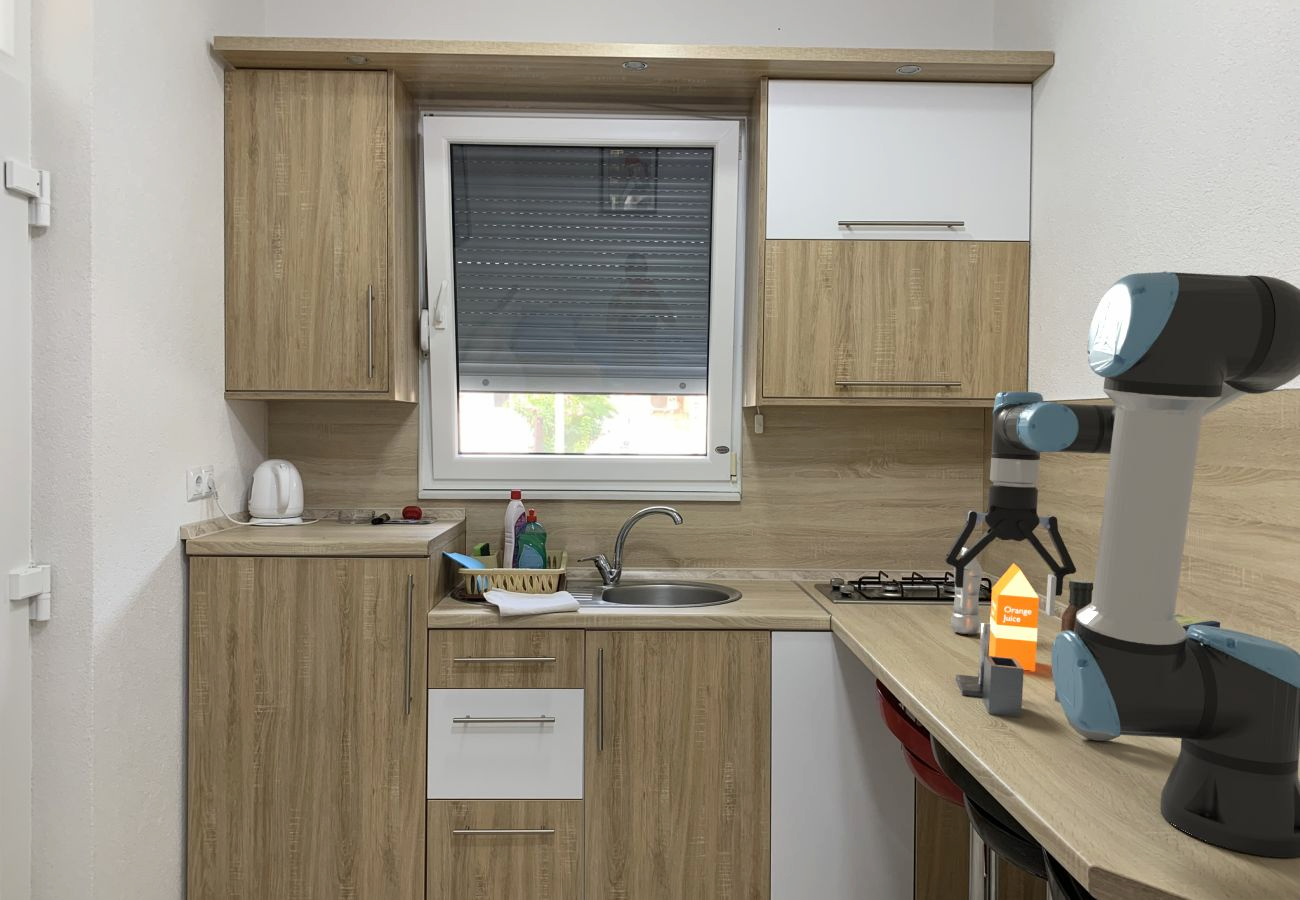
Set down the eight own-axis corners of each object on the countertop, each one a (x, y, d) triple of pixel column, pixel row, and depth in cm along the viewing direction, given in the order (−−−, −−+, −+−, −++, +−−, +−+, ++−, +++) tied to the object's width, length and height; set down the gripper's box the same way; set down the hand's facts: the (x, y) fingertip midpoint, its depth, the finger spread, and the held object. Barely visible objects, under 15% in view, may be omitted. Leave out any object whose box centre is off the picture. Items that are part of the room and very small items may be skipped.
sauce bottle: (1099, 695, 158) (1106, 585, 158) (1062, 691, 159) (1069, 582, 159) (1089, 684, 165) (1095, 579, 164) (1053, 681, 166) (1059, 576, 165)
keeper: (1010, 700, 152) (1014, 631, 152) (962, 695, 154) (966, 627, 154) (1001, 684, 162) (1004, 620, 162) (955, 679, 164) (959, 616, 164)
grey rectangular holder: (1021, 717, 143) (1023, 668, 143) (988, 713, 144) (991, 665, 144) (1013, 704, 150) (1015, 658, 150) (982, 701, 151) (984, 655, 151)
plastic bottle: (950, 635, 201) (955, 548, 200) (949, 629, 207) (953, 545, 207) (980, 638, 199) (985, 550, 199) (978, 632, 206) (983, 547, 205)
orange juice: (993, 667, 174) (999, 567, 174) (987, 656, 183) (992, 561, 182) (1036, 671, 172) (1041, 570, 172) (1027, 660, 181) (1033, 564, 180)
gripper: (1089, 487, 147) (1081, 613, 148) (933, 478, 153) (926, 599, 153) (1101, 490, 140) (1093, 622, 140) (937, 481, 145) (930, 608, 146)
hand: (1006, 611), depth 147 cm, fingers open, 13 cm apart
